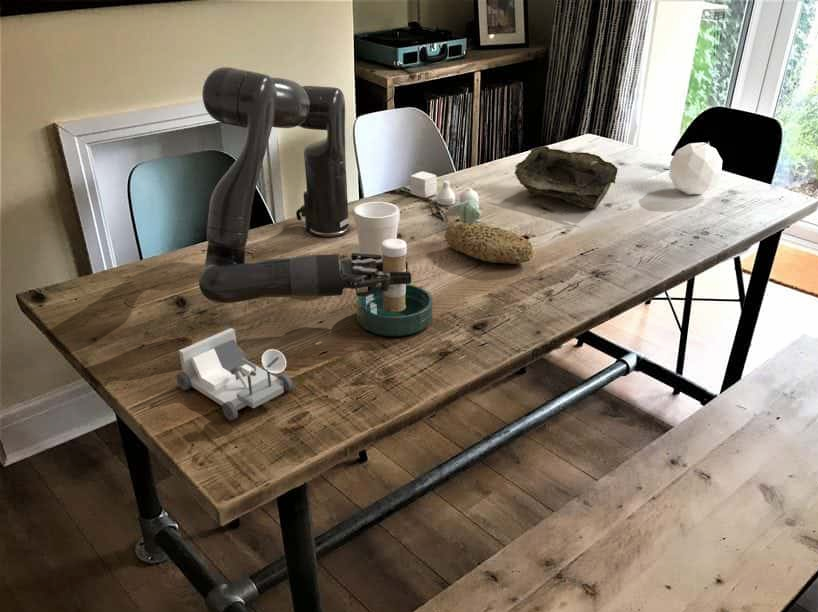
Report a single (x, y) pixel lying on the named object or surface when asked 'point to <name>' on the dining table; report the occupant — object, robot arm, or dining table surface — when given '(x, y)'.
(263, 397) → the toy car
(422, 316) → the bowl
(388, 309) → the sprinkles bottle
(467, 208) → the mint green faceted piece
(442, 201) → the container set
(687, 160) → the geodesic sphere
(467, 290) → the dining table surface
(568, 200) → the hollow geode rock
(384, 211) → the foam cup
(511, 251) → the sponge
